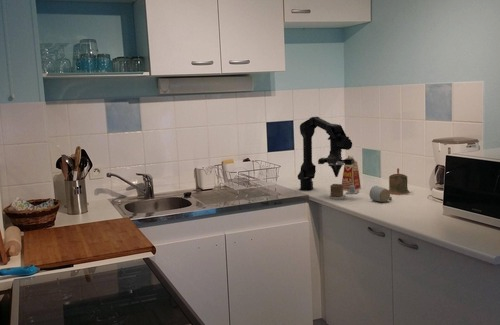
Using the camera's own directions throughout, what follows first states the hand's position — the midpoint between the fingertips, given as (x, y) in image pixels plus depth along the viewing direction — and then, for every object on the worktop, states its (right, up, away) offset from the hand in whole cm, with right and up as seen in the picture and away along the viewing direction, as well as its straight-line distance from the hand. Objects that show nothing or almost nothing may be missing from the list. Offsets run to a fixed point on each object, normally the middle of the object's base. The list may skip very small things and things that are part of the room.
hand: (336, 177), depth 278 cm
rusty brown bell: (+36, -8, +7) cm, 37 cm away
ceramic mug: (+21, -12, -13) cm, 28 cm away
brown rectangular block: (0, -10, +2) cm, 10 cm away
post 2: (+10, -9, +9) cm, 17 cm away
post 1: (+1, -11, +2) cm, 11 cm away
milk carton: (+12, -8, +20) cm, 25 cm away
